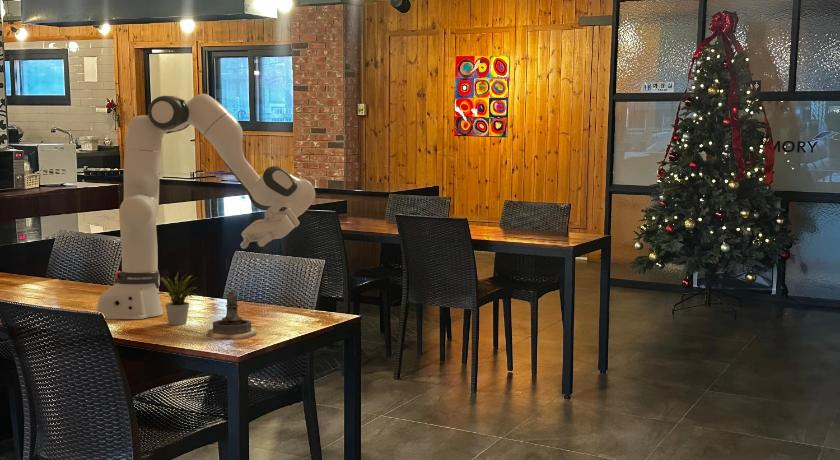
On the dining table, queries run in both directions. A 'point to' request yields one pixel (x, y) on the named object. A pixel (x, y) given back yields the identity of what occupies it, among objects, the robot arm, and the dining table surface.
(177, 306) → the house plant
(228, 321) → the dark chess piece
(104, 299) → the robot arm
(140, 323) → the dining table surface
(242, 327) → the collar holder
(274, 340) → the dining table surface
